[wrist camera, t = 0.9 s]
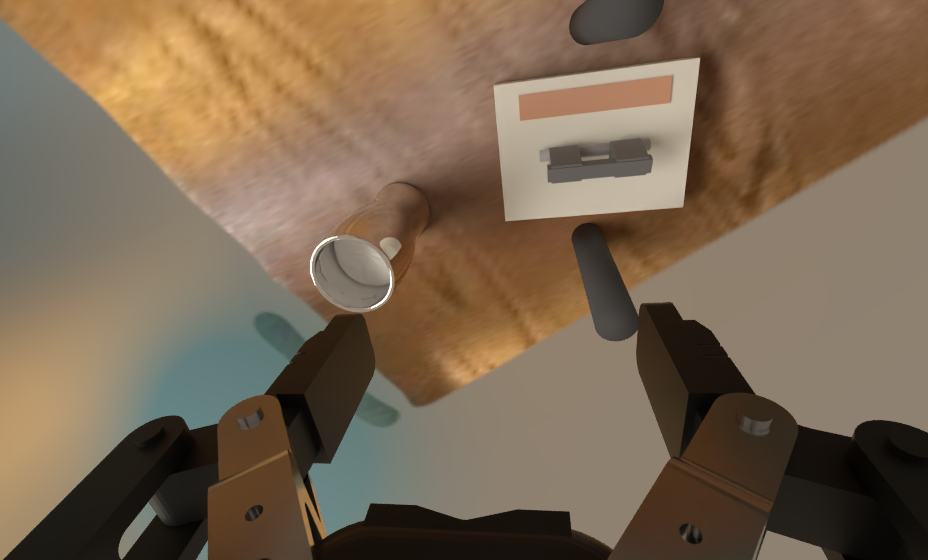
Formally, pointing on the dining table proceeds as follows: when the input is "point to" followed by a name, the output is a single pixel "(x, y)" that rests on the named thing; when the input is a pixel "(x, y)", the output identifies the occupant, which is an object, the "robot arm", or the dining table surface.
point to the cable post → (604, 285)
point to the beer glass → (370, 249)
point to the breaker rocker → (621, 162)
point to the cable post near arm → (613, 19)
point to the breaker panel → (596, 136)
